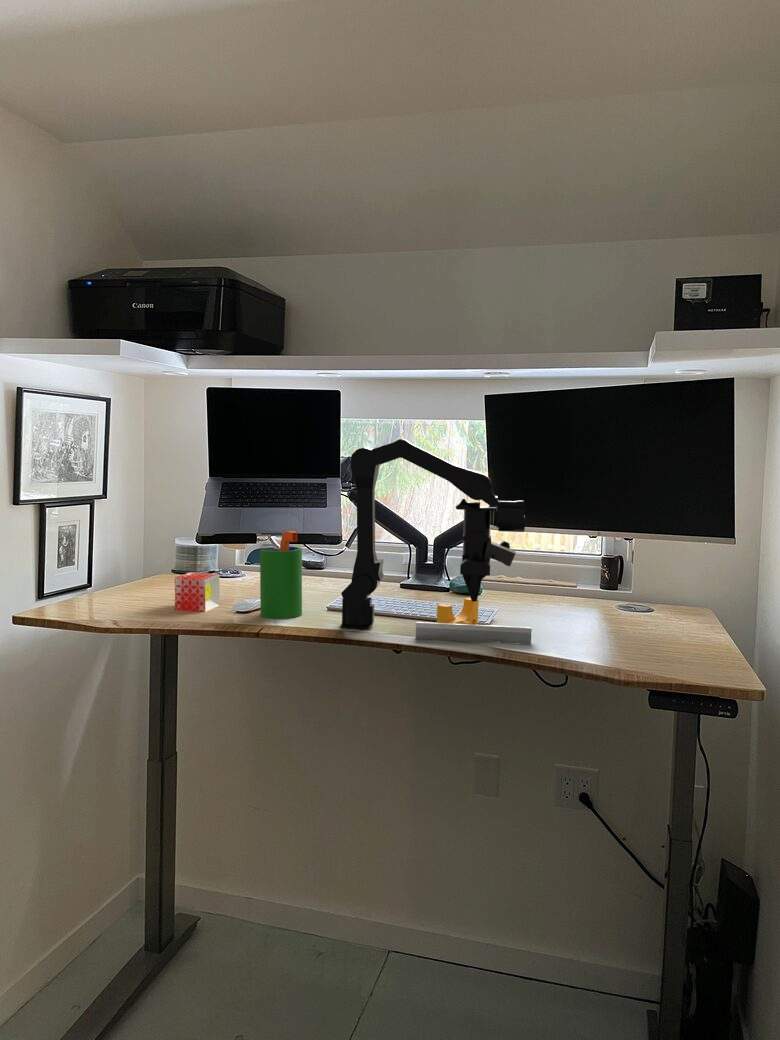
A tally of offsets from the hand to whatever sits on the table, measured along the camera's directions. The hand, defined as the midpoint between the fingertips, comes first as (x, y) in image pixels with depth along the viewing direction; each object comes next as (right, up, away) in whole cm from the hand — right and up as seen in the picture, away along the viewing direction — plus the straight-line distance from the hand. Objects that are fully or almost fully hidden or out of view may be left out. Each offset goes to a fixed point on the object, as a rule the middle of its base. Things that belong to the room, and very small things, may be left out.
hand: (474, 601), depth 174 cm
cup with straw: (-44, -5, +14) cm, 46 cm away
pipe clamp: (-3, -7, +2) cm, 8 cm away
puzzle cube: (-65, -4, +19) cm, 68 cm away
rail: (-1, -8, -7) cm, 10 cm away
